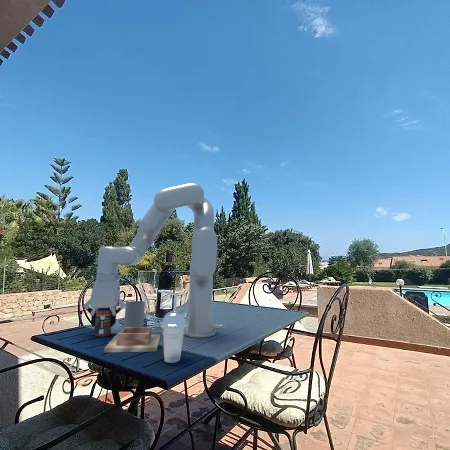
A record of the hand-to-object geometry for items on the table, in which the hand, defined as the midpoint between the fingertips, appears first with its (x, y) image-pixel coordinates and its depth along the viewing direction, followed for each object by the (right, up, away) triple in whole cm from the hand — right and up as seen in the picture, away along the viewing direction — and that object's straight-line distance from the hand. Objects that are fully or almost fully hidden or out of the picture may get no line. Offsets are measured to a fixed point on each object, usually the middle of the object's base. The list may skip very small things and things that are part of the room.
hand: (103, 325), depth 106 cm
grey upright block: (+6, -6, +16) cm, 19 cm away
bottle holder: (+16, -2, -11) cm, 19 cm away
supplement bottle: (0, -4, 0) cm, 4 cm away
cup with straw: (+31, -1, -25) cm, 40 cm away
